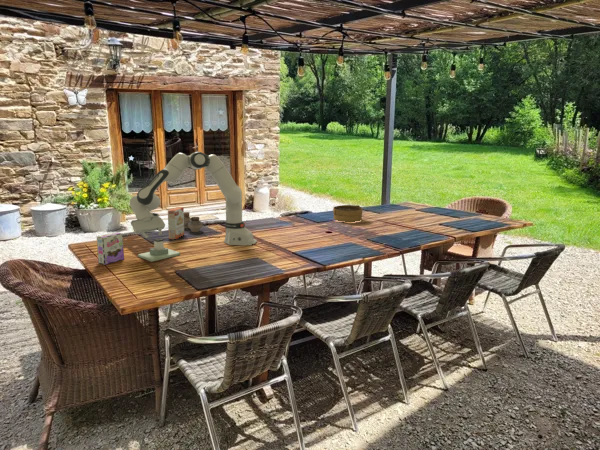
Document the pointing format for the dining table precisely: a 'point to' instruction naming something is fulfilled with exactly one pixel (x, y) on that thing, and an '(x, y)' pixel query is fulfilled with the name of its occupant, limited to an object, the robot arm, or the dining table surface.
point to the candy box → (110, 248)
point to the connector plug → (158, 244)
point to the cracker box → (176, 222)
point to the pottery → (192, 222)
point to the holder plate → (158, 254)
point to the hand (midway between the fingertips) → (154, 236)
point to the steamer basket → (347, 213)
